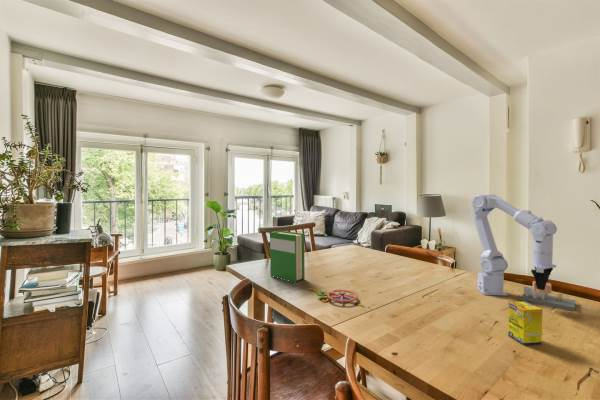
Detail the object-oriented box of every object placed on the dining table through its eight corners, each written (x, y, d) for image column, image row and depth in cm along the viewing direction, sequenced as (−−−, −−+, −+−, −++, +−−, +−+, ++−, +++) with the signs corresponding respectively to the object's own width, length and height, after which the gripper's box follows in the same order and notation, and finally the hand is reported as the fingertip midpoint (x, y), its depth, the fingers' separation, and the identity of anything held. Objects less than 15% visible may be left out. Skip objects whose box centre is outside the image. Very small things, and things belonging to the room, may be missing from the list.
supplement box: (507, 335, 93) (508, 301, 92) (525, 334, 93) (525, 301, 93) (523, 345, 87) (524, 309, 86) (542, 344, 87) (542, 308, 87)
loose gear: (537, 293, 111) (538, 285, 110) (528, 288, 116) (529, 280, 116) (555, 293, 110) (555, 285, 109) (545, 288, 115) (545, 281, 115)
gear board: (521, 300, 122) (522, 287, 121) (525, 293, 129) (525, 282, 128) (574, 311, 110) (574, 297, 110) (575, 303, 117) (575, 290, 117)
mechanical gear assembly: (353, 313, 111) (373, 303, 122) (354, 302, 111) (374, 293, 122) (297, 294, 131) (318, 287, 142) (297, 285, 131) (318, 278, 142)
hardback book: (304, 279, 152) (304, 233, 151) (295, 283, 146) (294, 235, 145) (280, 273, 163) (279, 230, 162) (270, 276, 157) (269, 232, 156)
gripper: (554, 257, 104) (553, 294, 105) (558, 250, 114) (557, 285, 115) (529, 254, 109) (528, 290, 110) (535, 248, 119) (534, 281, 120)
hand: (541, 287), depth 113 cm, fingers closed on loose gear, 6 cm apart
